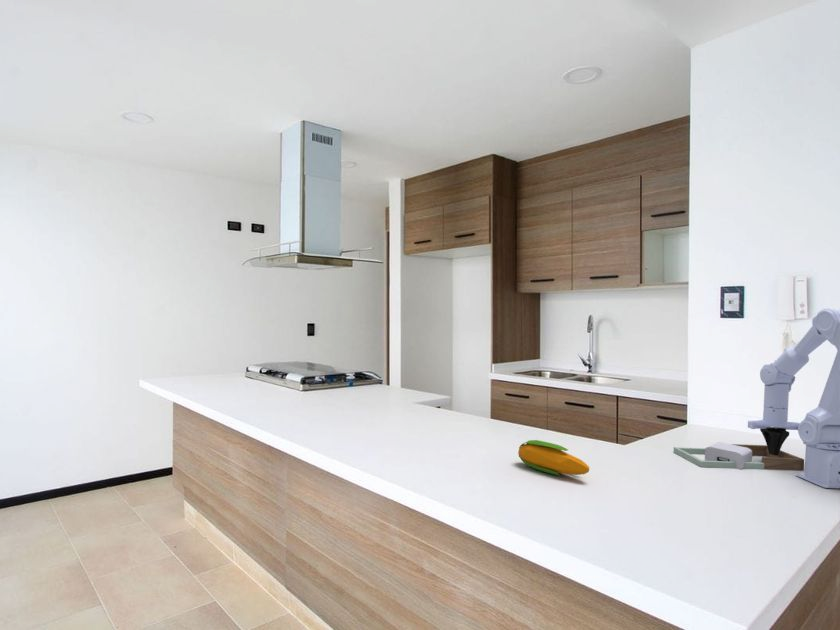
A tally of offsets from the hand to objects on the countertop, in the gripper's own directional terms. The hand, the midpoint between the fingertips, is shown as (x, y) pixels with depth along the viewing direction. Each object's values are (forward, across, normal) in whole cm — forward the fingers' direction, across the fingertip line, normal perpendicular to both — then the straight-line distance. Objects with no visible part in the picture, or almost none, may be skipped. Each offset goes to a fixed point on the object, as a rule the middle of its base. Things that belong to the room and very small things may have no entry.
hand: (773, 454), depth 144 cm
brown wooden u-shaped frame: (+2, +2, 0) cm, 3 cm away
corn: (+2, +68, +15) cm, 70 cm away
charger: (+3, +12, 0) cm, 12 cm away
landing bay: (+2, +16, 0) cm, 16 cm away
